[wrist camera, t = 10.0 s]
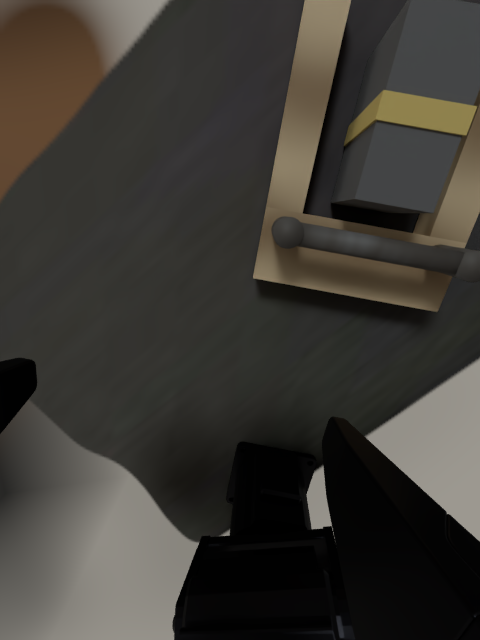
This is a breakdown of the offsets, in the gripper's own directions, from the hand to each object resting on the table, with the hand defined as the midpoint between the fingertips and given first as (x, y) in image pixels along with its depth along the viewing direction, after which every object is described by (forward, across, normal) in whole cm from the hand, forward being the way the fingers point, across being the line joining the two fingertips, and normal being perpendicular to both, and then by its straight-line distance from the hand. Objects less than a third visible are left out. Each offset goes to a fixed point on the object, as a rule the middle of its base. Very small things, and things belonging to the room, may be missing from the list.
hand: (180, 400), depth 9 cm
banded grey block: (+12, -7, -10) cm, 17 cm away
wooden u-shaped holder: (+12, -7, -9) cm, 17 cm away
